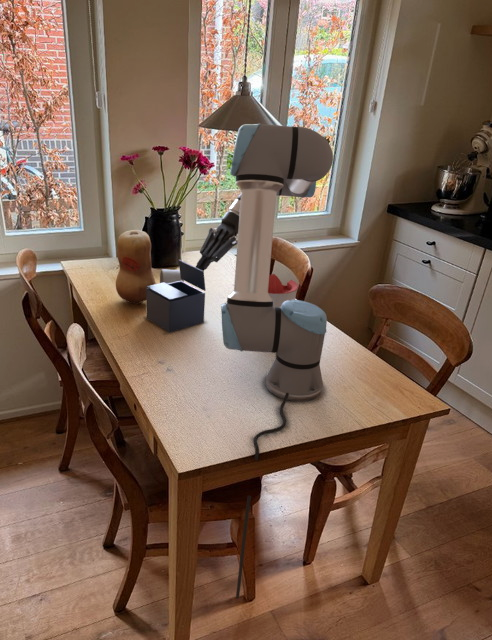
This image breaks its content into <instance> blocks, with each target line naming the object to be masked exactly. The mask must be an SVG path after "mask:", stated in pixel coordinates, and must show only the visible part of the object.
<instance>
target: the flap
mask: <svg viewBox="0 0 492 640" xmlns="http://www.w3.org/2000/svg"><path fill="white" fill-rule="evenodd" d="M178 267H179V268H178V269H179V270H180V276H181V279H182V280H184V282H185V283H187V284H189V285H191V286H193V287H195V288H197V289H199V290H201V291H203V292H205V291H206V282H205V270H204V271H202V270H200V269H198V268H196V266H194V265H192V264H189V263H187V262H185V261H183V260H181V259H178Z"/></svg>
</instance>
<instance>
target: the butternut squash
mask: <svg viewBox="0 0 492 640" xmlns="http://www.w3.org/2000/svg"><path fill="white" fill-rule="evenodd" d="M116 251H117V253H116V254H117V261H118V265H119V270H118V273H117V275H116V279H115V290H116V292H117V294H118V296H119V297H120V299H122V300H123V301H126V302H128V303H129V304H133V305H134V304H137V305H140V303H142V302H146V289H147V286H150V285H154V284H156V280H155V276H154V273H153V270H152V269H153V267H152V254H151V253H152V252H151V251H152V242H151V238H150V236H149V234H148V233H147V232H146V231H143V230H140V229H131V230H127V231H124V232H122V233H121V234H120V235H119V237H118V239H117V250H116Z"/></svg>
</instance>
